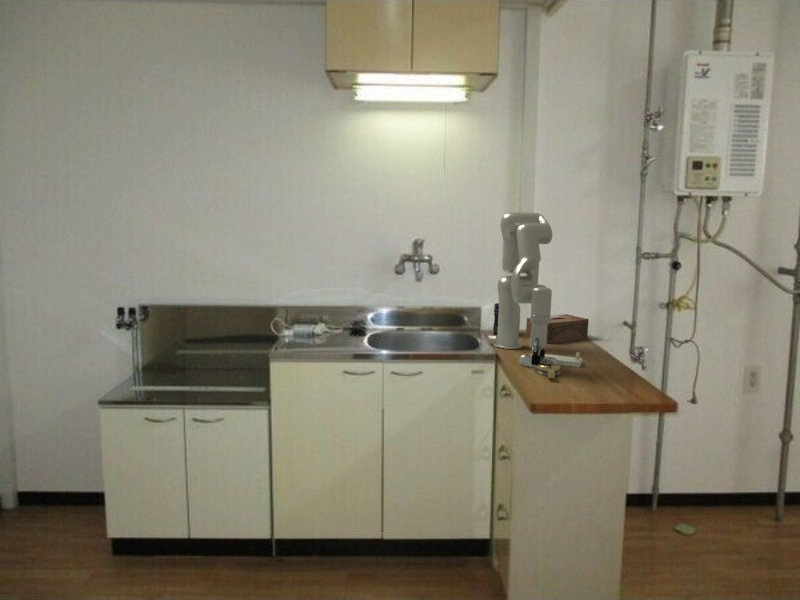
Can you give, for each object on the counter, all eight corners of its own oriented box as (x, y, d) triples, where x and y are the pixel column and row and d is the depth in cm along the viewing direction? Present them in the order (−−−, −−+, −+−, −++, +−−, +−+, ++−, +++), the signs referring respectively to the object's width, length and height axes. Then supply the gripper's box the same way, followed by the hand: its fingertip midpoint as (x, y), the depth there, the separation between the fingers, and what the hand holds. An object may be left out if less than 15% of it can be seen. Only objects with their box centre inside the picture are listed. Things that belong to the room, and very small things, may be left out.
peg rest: (528, 361, 248) (528, 349, 247) (532, 357, 255) (532, 345, 254) (579, 367, 240) (580, 355, 239) (581, 363, 247) (582, 350, 247)
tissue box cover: (565, 333, 306) (566, 314, 305) (587, 339, 294) (588, 319, 292) (525, 338, 294) (526, 317, 292) (546, 344, 281) (548, 323, 280)
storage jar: (514, 337, 295) (516, 306, 292) (494, 336, 295) (495, 306, 293) (511, 332, 305) (513, 303, 302) (491, 332, 305) (493, 302, 302)
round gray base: (534, 374, 229) (534, 372, 229) (538, 368, 237) (538, 366, 237) (558, 377, 225) (558, 375, 225) (562, 371, 234) (562, 369, 233)
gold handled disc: (537, 366, 235) (537, 358, 235) (558, 368, 234) (558, 359, 234) (539, 377, 221) (540, 368, 220) (562, 378, 220) (563, 369, 219)
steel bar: (554, 370, 236) (555, 360, 235) (518, 365, 241) (519, 356, 240) (556, 367, 239) (557, 357, 239) (520, 363, 245) (521, 353, 244)
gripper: (534, 315, 247) (532, 356, 249) (525, 321, 231) (523, 366, 233) (553, 316, 244) (551, 358, 246) (546, 323, 228) (543, 368, 230)
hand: (538, 362), depth 240 cm, fingers open, 9 cm apart
